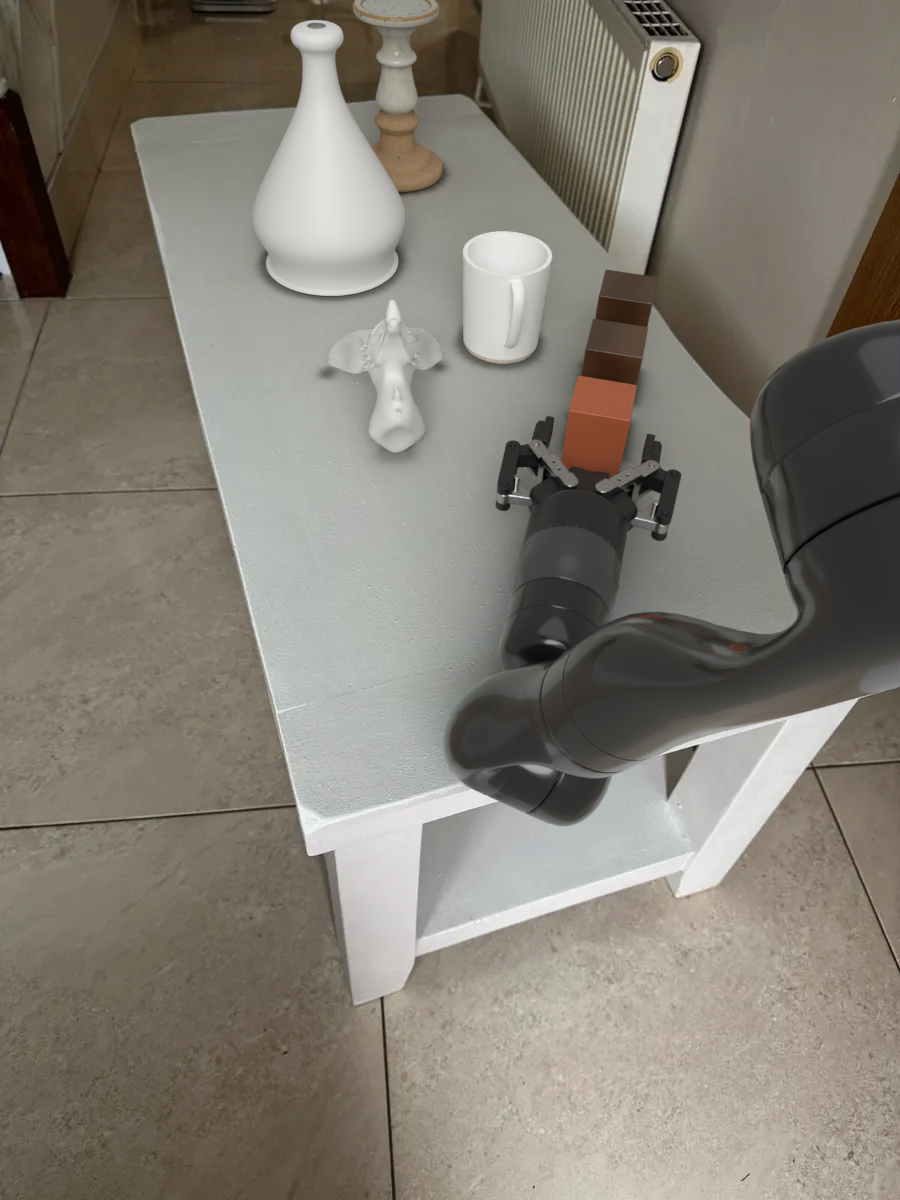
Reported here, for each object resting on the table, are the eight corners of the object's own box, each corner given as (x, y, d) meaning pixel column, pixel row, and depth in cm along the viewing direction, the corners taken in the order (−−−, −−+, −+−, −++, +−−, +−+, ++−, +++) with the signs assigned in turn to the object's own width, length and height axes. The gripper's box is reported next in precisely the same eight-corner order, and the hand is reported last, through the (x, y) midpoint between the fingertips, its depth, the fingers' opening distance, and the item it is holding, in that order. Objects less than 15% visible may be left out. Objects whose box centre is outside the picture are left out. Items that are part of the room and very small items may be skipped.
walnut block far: (636, 373, 98) (657, 276, 89) (631, 401, 94) (652, 303, 86) (589, 365, 98) (605, 268, 90) (582, 392, 95) (598, 295, 87)
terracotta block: (615, 484, 86) (637, 384, 78) (608, 520, 83) (630, 420, 74) (561, 474, 87) (577, 375, 78) (553, 510, 83) (569, 410, 75)
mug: (452, 322, 103) (455, 233, 95) (531, 317, 104) (541, 229, 96) (470, 381, 96) (475, 290, 88) (554, 375, 97) (567, 285, 89)
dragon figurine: (327, 389, 75) (317, 252, 79) (336, 488, 92) (327, 371, 96) (473, 381, 76) (455, 247, 80) (455, 480, 93) (441, 365, 97)
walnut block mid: (626, 425, 92) (648, 326, 83) (621, 456, 88) (642, 357, 80) (576, 416, 92) (593, 318, 84) (569, 447, 89) (585, 348, 81)
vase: (286, 314, 103) (259, 67, 84) (239, 241, 113) (205, 7, 94) (429, 282, 108) (433, 43, 89) (372, 215, 118) (364, -11, 100)
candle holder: (352, 152, 130) (345, -14, 115) (440, 153, 131) (444, -12, 116) (351, 193, 122) (343, 20, 107) (445, 193, 123) (450, 22, 108)
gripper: (677, 549, 65) (693, 411, 75) (477, 511, 67) (520, 382, 77) (655, 619, 70) (673, 481, 81) (472, 582, 72) (513, 452, 83)
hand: (598, 433), depth 79 cm, fingers open, 8 cm apart
